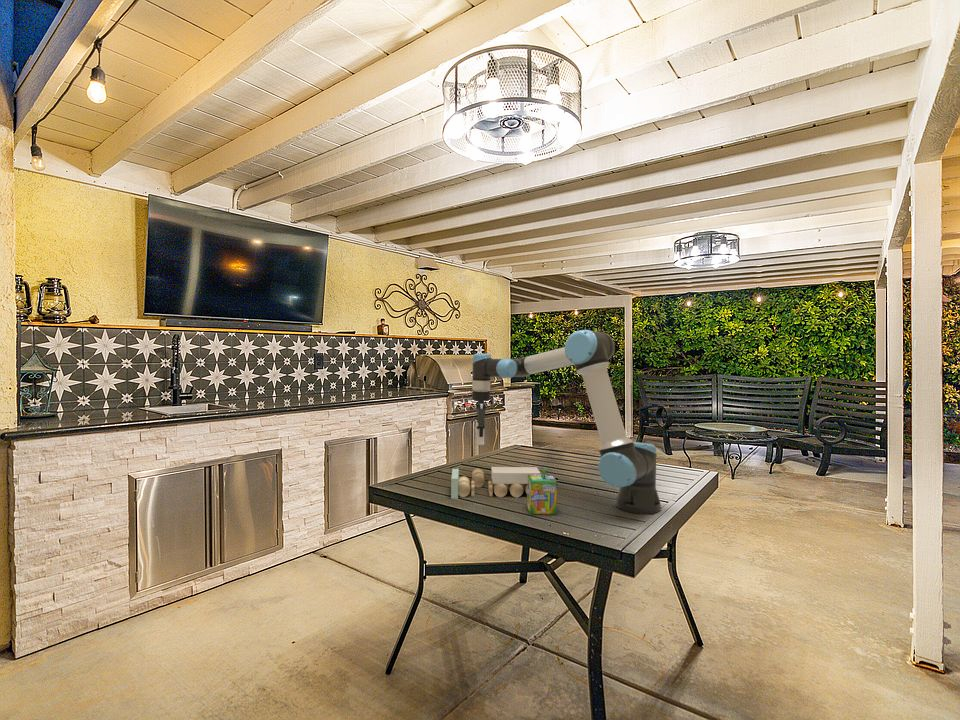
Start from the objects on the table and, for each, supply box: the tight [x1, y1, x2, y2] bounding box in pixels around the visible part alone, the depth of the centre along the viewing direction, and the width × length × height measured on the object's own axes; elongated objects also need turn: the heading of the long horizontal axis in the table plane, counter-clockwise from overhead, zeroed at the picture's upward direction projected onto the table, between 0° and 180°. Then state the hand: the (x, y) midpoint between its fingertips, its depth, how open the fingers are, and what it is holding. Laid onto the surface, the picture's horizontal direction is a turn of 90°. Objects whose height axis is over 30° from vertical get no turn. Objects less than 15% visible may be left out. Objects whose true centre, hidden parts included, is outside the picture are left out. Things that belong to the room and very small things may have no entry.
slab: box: [490, 466, 542, 485], centre depth 189 cm, size 10×18×4 cm, turn 92°
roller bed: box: [458, 476, 528, 498], centre depth 189 cm, size 11×31×5 cm, turn 92°
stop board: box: [450, 468, 460, 500], centre depth 189 cm, size 16×2×8 cm, turn 2°
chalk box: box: [526, 466, 558, 515], centre depth 169 cm, size 9×9×15 cm
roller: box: [471, 468, 486, 488], centre depth 203 cm, size 11×5×5 cm, turn 2°
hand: (480, 441), depth 204 cm, fingers open, 13 cm apart
